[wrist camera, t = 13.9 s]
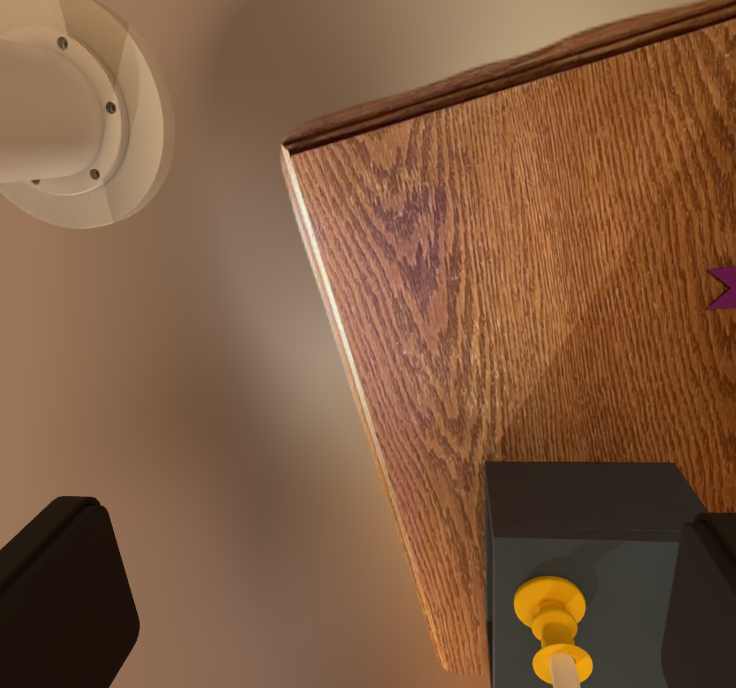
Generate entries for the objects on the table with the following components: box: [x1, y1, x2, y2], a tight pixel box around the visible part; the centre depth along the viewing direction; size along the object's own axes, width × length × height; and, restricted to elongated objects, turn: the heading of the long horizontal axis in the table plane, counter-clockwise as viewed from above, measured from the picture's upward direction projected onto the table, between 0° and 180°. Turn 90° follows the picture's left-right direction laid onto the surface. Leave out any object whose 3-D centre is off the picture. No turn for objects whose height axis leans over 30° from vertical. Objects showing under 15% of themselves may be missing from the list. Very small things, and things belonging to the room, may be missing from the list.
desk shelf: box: [485, 462, 709, 688], centre depth 45 cm, size 16×20×14 cm
